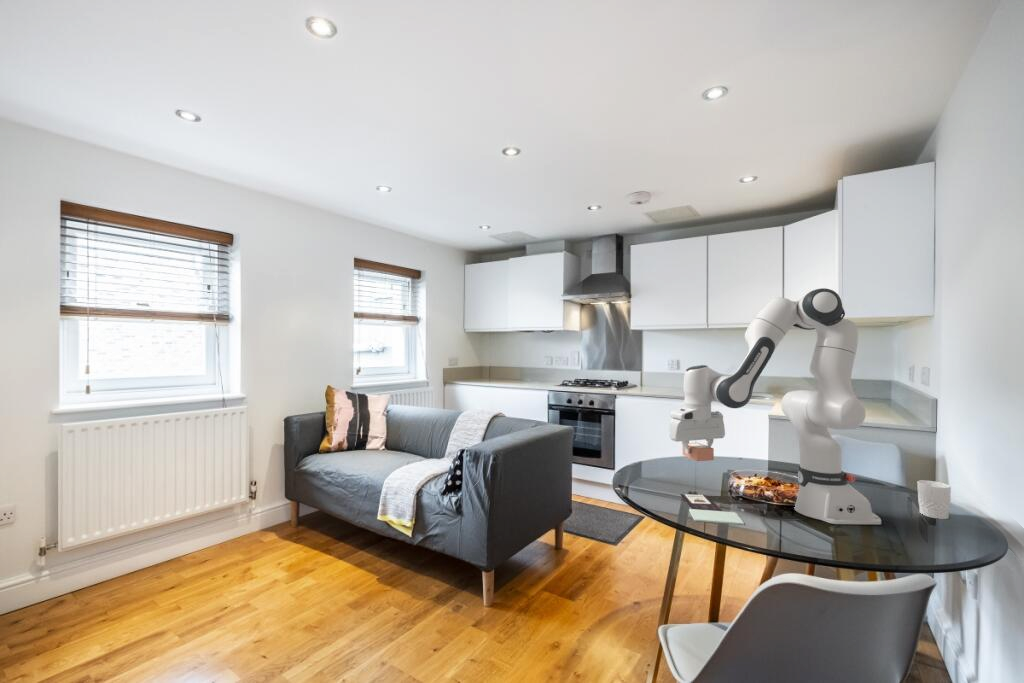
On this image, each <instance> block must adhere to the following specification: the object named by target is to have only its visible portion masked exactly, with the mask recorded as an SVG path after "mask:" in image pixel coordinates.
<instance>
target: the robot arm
mask: <svg viewBox="0 0 1024 683" xmlns="http://www.w3.org/2000/svg"><path fill="white" fill-rule="evenodd" d="M845 316H846V312H845V309H844V306H843V303H842V298H841V297H840V296H839V294H838V293H837V292H836V291H834V290H833V289H830V288H826V287H825V288H824V287H823V288H816V289H813V290H811V291H809V292H808V293H806V294H805V295H804V296H803V297H801V298H800V299H799V300H797V301H793V300H790V299H789V298H785V297H781V296H779V297H774V298H772V299H770V300H769V301H768V302H767V303H766V304H764V306H763V307H762V308H761V309H759V311H758V313H757V314H756V315H755V316H754V318H752V320H751V321H750V323H749V324H748V326H747V328H746V330H745V332H744V340H745V343H746V345H747V346H748V351H747V354H746V355H745V358H743V360H742V362H741V364H740V365H739V367H738V369H737V370H736V371H735V373H733V374H732V375H726V374H724V373H720V372H719V371H716V370H714V369H712V368H710V367H709V366H708V365H705V364H704V365H703V364H700V365H693V366H690V367H688V368H686V369H685V371H684V374H683V375H684V376H683V388H682V389H683V394H684V395H683V396H684V400H683V406H681V407H678V408H676V409H674V410H671V411H670V417H671V418H672V419H670V422H669V430H668V431H669V432H668V433H669V439H670V440H672V441H674V442H681V444H682V447H683V446H684V448H685V453H687V454H691V453H692V449H691V448H689V446H688V444H689V443H690V441H692V442H693V441H702V440H703V441H706V444H705V445H706V446H708V447H711V448H712V445H713V444H714V440H716V439H724V437H725V436H726V430H725V429H726V428H725V424H724V415H723V413H722V412H720V411H712V402H717V403H718V404H719V403H720V404H722V405H723V406H726V407H727V408H730V409H740V408H743V407H744V406H746V405H747V404H748V403H749V402H750V400H751V398H752V396H753V392H754V386H755V384H756V383H757V380H758V379H759V377H760V375H762V372H763V371H764V369H765V368H766V367H767V364H768V362H769V361H770V360H771V357H772V355H774V352H775V350H776V348H777V347H778V346H779V345H780V343H781V341H782V340H783V339H784V337H785V336H786V335H787V334H788V332H789V331H790V329H791V328H792V327H795V328H799V329H802V330H808V331H809V330H810V331H811V330H815V331H816V336H817V337H816V342H815V345H814V349H813V354H812V356H811V357H812V358H811V362H810V366H809V371H810V374H811V375H812V376H813V377H814V378H816V380H817V382H818V391H817V390H808V389H799V390H798V389H797V390H792V391H791V390H790V391H788V392H787V393H785V394H784V395H783V397H782V398H781V403H780V407H781V412H783V414H784V415H785V417H786V418H787V419H788V420H789V421H790V423H791V424H792V426H793V428H794V431H795V433H796V436H797V440H798V445H799V465H798V469H797V470H798V472H797V480H798V485H799V486H798V492H797V496H796V497H797V498H796V501H795V504H794V506H795V507H793V508H794V509H793V510H794V511H796V512H797V513H799V514H801V515H803V516H805V517H808V518H812V519H816V520H820V521H823V522H826V523H828V524H832V525H882V519H881V517H880V516H879V515H877V514H876V513H875V512H873V511H872V510H873V509H872V505H871V503H870V501H869V499H868V498H867V497H866V496H865V495H864V494H862V493H861V492H860V491H859V490H857V489H856V488H854V487H853V486H852V485H850V484H849V482H850V483H854V482H855V481H856V477H855V475H852V474H850V473H849V474H848V473H846V472H844V471H843V470H842V447H841V446H840V443H839V442H837V440H835V438H833V437H832V435H831V434H830V432H829V430H828V429H834V430H856V429H858V428H860V427H861V426H862V424H863V423H864V422H865V418H866V409H865V405H864V404H863V403H862V401H861V400H860V399H859V398H858V397H857V395H856V394H855V393H854V389H853V386H852V373H853V369H854V368H853V367H854V363H855V359H856V354H857V349H858V343H859V342H858V341H859V327H858V326H857V324H856V323H855V322H854V321H852V320H850V319H848V318H845Z"/></svg>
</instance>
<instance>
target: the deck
mask: <svg viewBox="0 0 1024 683" xmlns="http://www.w3.org/2000/svg"><path fill="white" fill-rule="evenodd" d="M688 446H689V448H691V449H692V453H691V454H687V453H685V448H684V446H683V445H682V456H684V457H686V458H689V459H692V460H694V461H696V462H704V461H707V462H708V461H715V460H714V459H715V457H714V456H715V455H714V452H715V451H714V450H715V449H714V448H713V447H712V446H711V447H708V446H706V444H703V443H699V442H689V444H688Z"/></svg>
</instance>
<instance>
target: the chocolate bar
mask: <svg viewBox="0 0 1024 683" xmlns="http://www.w3.org/2000/svg"><path fill="white" fill-rule="evenodd" d="M680 495H681V496H682V497H681V496H680ZM679 496H680V497H681V499H683V501H684V500H685V501H686V502H687V503H686V502H685V501H684V502H685V503H686V504H687V506H688V507H689V508H690V507H691V508H692V509H697V510H711V511H723V510H722V509H721V507H719V506H718V505H717V504H716V503H715V502H714V501H713V500H712V499H711V498H710V497H709V496H708V495H707V494H688V493H687V494H686V493H685V494H679ZM691 508H690V509H691Z"/></svg>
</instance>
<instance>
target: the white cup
mask: <svg viewBox="0 0 1024 683" xmlns="http://www.w3.org/2000/svg"><path fill="white" fill-rule="evenodd" d="M916 483H917V484H916V486H917V499H918V500H917V501H918V507H919V514H920V513H921V515H922V514H923V515H922V516H925V517H928V518H932V519H937V518H938V519H939V520H947V519H949V513H950V512H949V510H950V505H951V492H952V491H951V489H952V487H951V485H950V484H946V483H943V482H940V481H939V482H938V481H933V480H926V479H925V480H923V479H921V480H918V481H916Z"/></svg>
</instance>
